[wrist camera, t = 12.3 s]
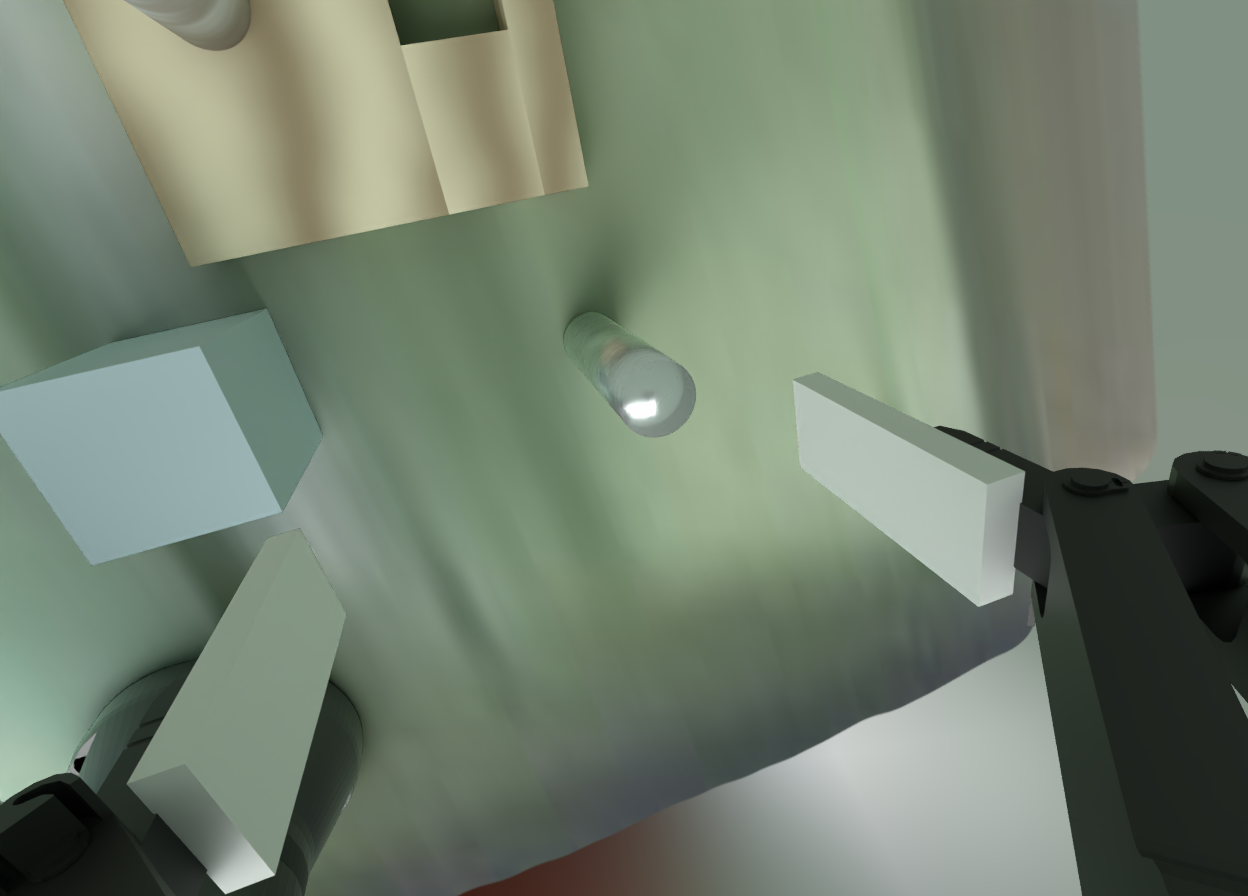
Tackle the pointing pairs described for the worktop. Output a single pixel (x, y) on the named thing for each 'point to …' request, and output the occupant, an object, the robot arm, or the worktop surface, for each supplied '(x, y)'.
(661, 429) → the peg
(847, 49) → the worktop surface
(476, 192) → the board
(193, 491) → the block
